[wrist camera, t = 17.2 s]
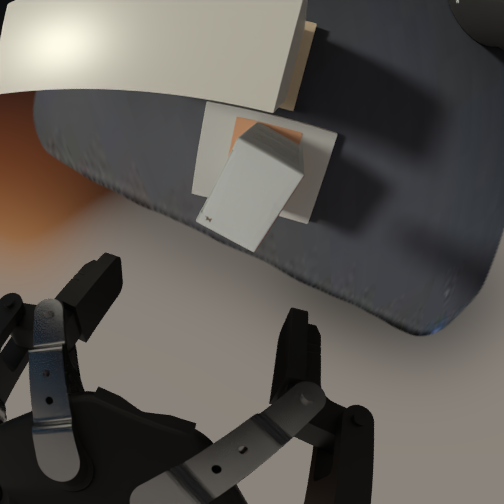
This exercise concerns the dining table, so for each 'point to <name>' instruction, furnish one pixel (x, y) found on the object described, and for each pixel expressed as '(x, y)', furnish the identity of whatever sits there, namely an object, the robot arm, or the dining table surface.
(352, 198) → the dining table surface
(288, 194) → the small box
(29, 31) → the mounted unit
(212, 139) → the pad
